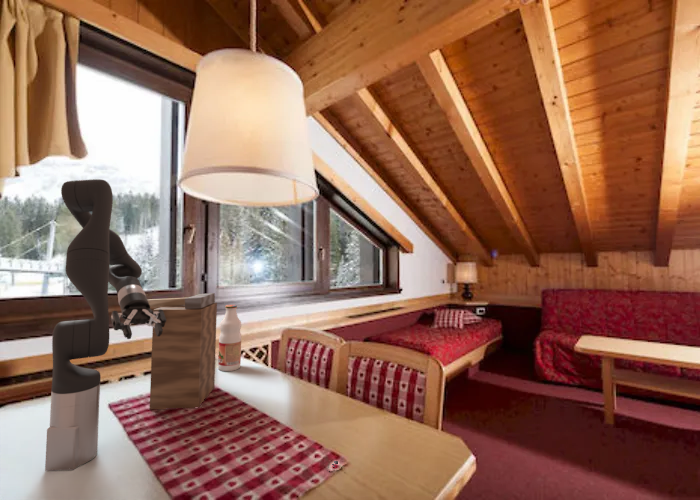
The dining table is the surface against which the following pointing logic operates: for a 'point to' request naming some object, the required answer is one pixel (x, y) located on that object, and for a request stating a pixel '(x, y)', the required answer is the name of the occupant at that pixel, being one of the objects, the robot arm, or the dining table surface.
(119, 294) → the robot arm
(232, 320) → the fruit juice
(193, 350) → the stand
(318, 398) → the dining table surface
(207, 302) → the scraper
